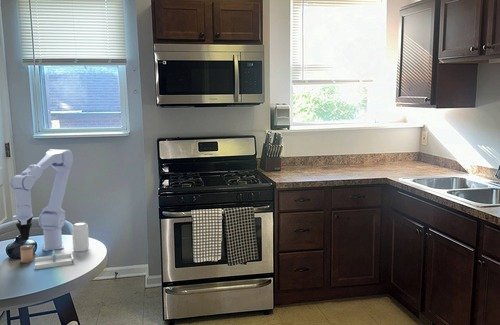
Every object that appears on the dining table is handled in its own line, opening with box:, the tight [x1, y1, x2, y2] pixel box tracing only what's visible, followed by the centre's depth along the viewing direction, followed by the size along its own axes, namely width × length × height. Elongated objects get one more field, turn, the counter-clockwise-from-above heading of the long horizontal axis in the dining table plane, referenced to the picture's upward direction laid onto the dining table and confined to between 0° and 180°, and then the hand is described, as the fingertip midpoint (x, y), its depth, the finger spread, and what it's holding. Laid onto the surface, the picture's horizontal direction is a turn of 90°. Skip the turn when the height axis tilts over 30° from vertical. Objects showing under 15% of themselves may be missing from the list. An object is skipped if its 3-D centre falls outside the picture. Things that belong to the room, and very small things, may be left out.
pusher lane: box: [34, 251, 74, 270], centre depth 176 cm, size 9×14×2 cm, turn 115°
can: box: [71, 221, 90, 253], centre depth 191 cm, size 6×6×12 cm
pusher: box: [51, 249, 56, 262], centre depth 176 cm, size 6×1×4 cm, turn 25°
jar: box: [19, 244, 35, 264], centre depth 178 cm, size 4×4×6 cm
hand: (25, 237), depth 177 cm, fingers open, 7 cm apart
